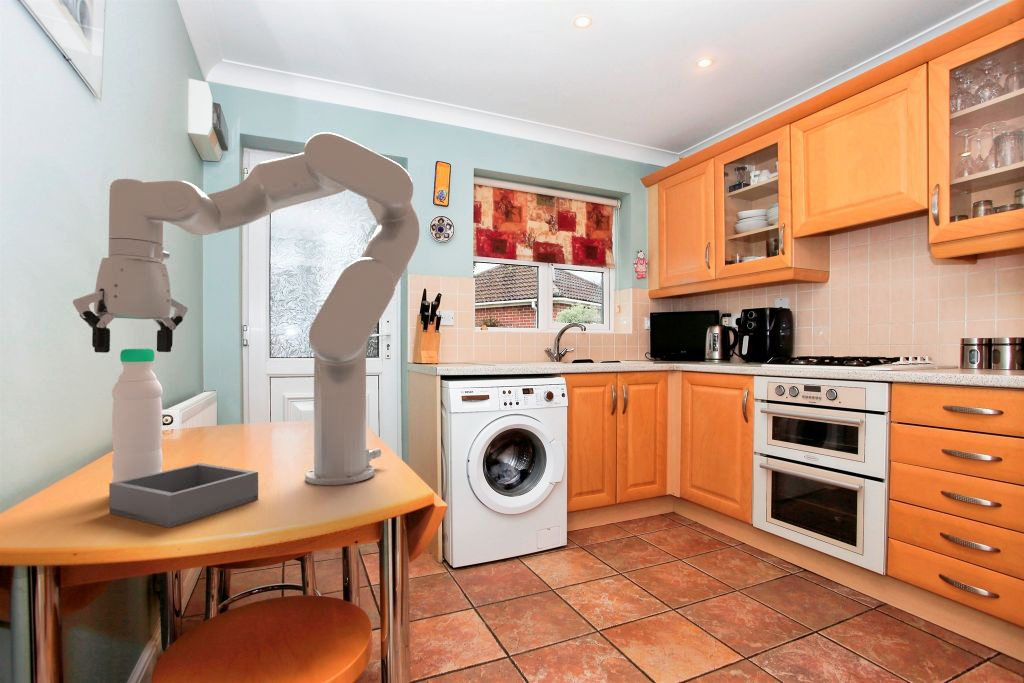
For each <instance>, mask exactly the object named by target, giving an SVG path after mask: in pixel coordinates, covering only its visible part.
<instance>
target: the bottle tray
mask: <svg viewBox="0 0 1024 683" xmlns="http://www.w3.org/2000/svg"><path fill="white" fill-rule="evenodd" d="M108 483H109V482H108ZM108 486H109V490H108V492H109V495H108V497H109V501H108V502H109V507H108V508H109V511H108V512H109V514H113V515H116V516H120V517H126V518H128V519H132V520H133V519H134V520H137V521H142V522H145V523H150V524H152V525H157V526H161V527H165V528H168V529H170V528H174V527H178V526H179V525H183V524H187V523H189V522H192V521H195V520H198V519H202V518H205V517H208V516H212V515H215V514H216V513H220V512H223V511H227V510H229V509H233V508H236V507H238V506H242V505H244V504H249V503H251V502H253V501H257V500H259V471H255V470H248V469H241V468H234V467H227V466H221V465H213V464H208V463H202V462H199V463H195V464H191V465H187V466H181V467H177V468H176V467H175V468H172V469H168V470H164V471H163V470H162V472H158V473H154V474H149V475H145V476H140V477H136V478H132V479H127V480H123V481H118V482H114V483H112V482H110V483H109V485H108Z"/></svg>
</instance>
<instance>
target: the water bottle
mask: <svg viewBox="0 0 1024 683" xmlns="http://www.w3.org/2000/svg"><path fill="white" fill-rule="evenodd" d="M119 355H120V356H119V358H120V362H121V365H122V366H123V371H122V372H121V374H120V375H119V376H118V379H117V381H116V382H115V384H114V385H113V387H112V390H111V397H112V399H113V400H112V401H113V403H112V410H111V412H112V414H111V435H112V436H111V440H112V449H113V454H112V460H111V461H112V462H111V466H112V468H111V469H112V473H113V475H112V482H111V483H114V482H118V481H123V480H127V479H132V478H136V477H140V476H145V475H149V474H154V473H158V472H163V468H162V466H163V450H162V443H163V423H164V422H163V403H162V395H163V386H162V385H161V383H160V382H159V380H158V379H157V376H156V373H154V371H153V370H152V365H153V364H154V361H155V350H153V349H152V348H124V349H122V350H121V351H120V354H119Z"/></svg>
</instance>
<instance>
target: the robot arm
mask: <svg viewBox="0 0 1024 683" xmlns="http://www.w3.org/2000/svg"><path fill="white" fill-rule="evenodd" d="M347 190H348V191H350V193H354V194H356V195H358V196H360V197H362V198H364V199H366V203H367V207H368V208H369V210H370V212H371V214H372V215H373V216H374V218H375V221H376V229H375V232H374V233H373V235H372V236H371V238H370V239H369V241H368V243H367V244H366V247H365V249H364V250H363V252H362V254H361V255H360V257H359V258H358V259H356V260H353V261H352V262H350V263H349V264H348V265H347V266H346V267H345V268H344V269H343V270H342V272H341V274H340V275H339V277H338V279H337V281H336V282H335V284H334V285H333V287H332V289H330V292H329V293H328V296H327V298H326V299H325V300H324V301H323V302H324V303H323V304H322V306H321V308H320V309H319V311H318V312H317V313H316V315H315V317H314V319H313V320H312V323H311V324H310V328H309V330H308V331H309V332H308V341H309V344H310V348H311V350H312V351H313V353H314V354H313V356H314V359H313V362H314V363H313V465H314V466H313V468H312V469H309V470H307V471H306V472H305V474H304V476H305V477H304V479H305V481H306V482H307V483H308V484H313V485H319V486H339V485H340V486H341V485H347V484H348V485H349V484H355V483H358V482H362V481H365V480H368V479H370V478H372V477H374V475H375V467H374V466H373V465H370V462H371V461H372V460H374V459H375V460H376V459H378V458H380V457H381V456H382V451H381V449H380V448H379V447H377V448H373V449H370V448H367V406H366V405H367V342H368V340H369V338H370V337H371V335H372V334H373V331H375V328H376V327H377V325H378V323H379V321H380V319H381V318H382V316H383V314H384V313H385V312H386V309H387V307H388V305H389V303H390V302H391V300H392V299H393V297H394V295H395V291H396V287H397V285H398V282H399V281H400V279H401V277H402V276H403V274H404V272H405V270H406V269H407V266H408V265H409V263H410V262H411V261H410V260H411V259H412V257H413V255H414V253H415V251H416V249H417V246H418V242H419V238H420V224H419V219H418V216H417V213H416V209H415V208H414V206H413V204H412V202H411V201H412V199H413V195H414V183H413V179H412V177H411V176H410V174H409V172H408V171H407V170H406V169H405V168H404V167H403V166H402V165H401V164H399V163H397V162H396V161H394V160H392V159H390V158H388V157H385V156H384V155H382V154H379V153H378V152H376V151H373V150H371V149H370V148H368V147H366V146H363V145H362V144H360V143H357V142H356V141H354V140H351V139H349V138H347V137H345V136H342V135H339V134H337V133H332V132H319V133H316V134H314V135H313V136H311V137H310V138H309V139H308V140H307V141H306V143H305V145H304V148H303V152H300V153H297V154H293V155H289V156H285V157H284V156H283V157H281V158H275V159H270V160H266V161H262V162H258V164H257V165H255V166H254V167H253V169H251V171H250V172H249V174H248V175H247V177H246V178H245V179H244V180H243V181H241V182H240V183H238V184H237V185H234V186H232V187H230V188H228V189H224V190H220V191H216V192H213V193H207V194H205V192H204V191H202V190H201V189H200V188H198V187H197V186H196V185H194V184H192V183H191V182H188V181H185V180H163V181H162V180H160V181H158V180H157V181H145V180H140V179H134V178H119V179H115V180H113V181H112V182H111V184H110V185H109V198H108V199H109V205H108V206H109V208H108V210H109V211H108V253H107V254H108V255H107V256H108V257H103V258H102V259H101V261H100V264H99V268H98V272H97V276H96V277H97V278H96V283H95V290H94V292H92V293H89V294H85V295H83V296H80V297H78V298H75V299H73V300H72V304H73V306H74V307H75V310H76V311H77V312H78V313H79V317H80V318H81V319H82V320H83V321H84V322H86V323H87V325H88V327H89V328H91V329H92V330H91V331H92V333H91V334H92V335H91V337H92V338H91V341H92V342H91V343H92V344H91V346H92V347H93V348H94V352H95V353H102V354H103V353H105V354H107V353H110V351H111V329H110V327H107V326H108V325H109V324H110V323H111V322H112V321H113V320H114V319H128V320H129V319H130V320H133V319H134V320H135V319H136V320H153V321H154V322H155V324H156V325H157V326H158V327H159V329H158V330H157V331H156V352H158V353H171V351H172V348H173V341H174V340H173V339H174V338H173V335H174V334H173V333H174V331H175V330H177V327H178V326H179V325H180V324H181V323H183V320H184V318H185V316H186V314H187V312H188V310H189V309H188V307H187V306H185V305H183V303H181V302H178V301H177V300H175V299H173V298H172V297H171V295H172V294H171V283H170V276H169V272H168V268H167V265H166V264H165V263H163V262H164V260H169V259H170V253H169V252H168V251H165V250H164V249H165V248H164V244H163V243H164V222H167V223H169V224H171V225H174V226H177V227H179V228H180V229H182V230H183V231H185V232H187V233H189V234H192V235H195V236H209V235H213V234H218V233H222V232H224V231H229V230H233V229H237V228H240V227H244V226H246V225H249V224H252V223H253V222H256V221H258V220H260V219H262V218H264V217H266V216H268V215H271V214H272V213H274V212H276V211H279V210H281V209H284V208H288V207H292V206H295V205H299V204H303V203H307V202H311V201H314V200H318V199H322V198H323V199H324V198H326V197H330V196H335V195H337V194H341V193H343V192H346V191H347ZM90 304H93V309H94V312H93V311H92V310H91V308H90ZM172 310H174V314H173V316H171V317H170V315H171V311H172Z"/></svg>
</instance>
